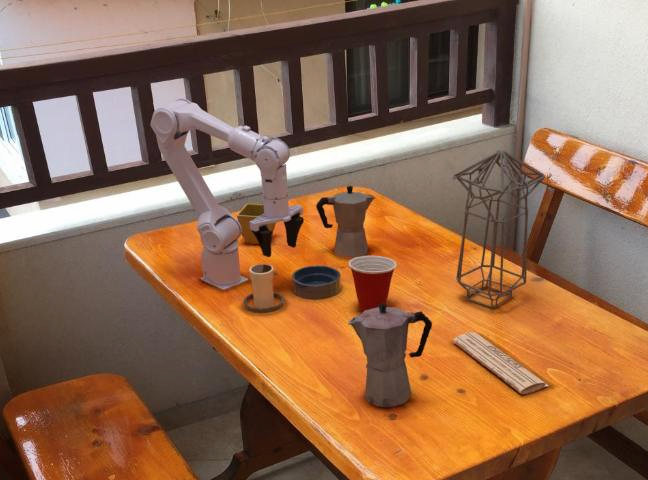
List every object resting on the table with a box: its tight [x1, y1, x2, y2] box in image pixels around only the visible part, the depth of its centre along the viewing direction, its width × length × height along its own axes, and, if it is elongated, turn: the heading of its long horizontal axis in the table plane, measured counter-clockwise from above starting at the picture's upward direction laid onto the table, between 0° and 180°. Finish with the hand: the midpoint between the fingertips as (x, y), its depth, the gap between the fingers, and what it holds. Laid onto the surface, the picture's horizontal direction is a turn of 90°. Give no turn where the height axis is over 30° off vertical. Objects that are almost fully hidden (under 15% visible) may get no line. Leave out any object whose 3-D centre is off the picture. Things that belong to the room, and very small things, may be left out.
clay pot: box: [248, 263, 275, 308], centre depth 199 cm, size 6×6×9 cm
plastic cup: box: [348, 255, 397, 313], centre depth 196 cm, size 11×11×12 cm
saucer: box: [242, 291, 285, 314], centre depth 201 cm, size 9×10×2 cm
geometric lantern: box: [452, 150, 546, 309], centre depth 193 cm, size 16×16×35 cm
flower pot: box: [236, 203, 277, 245], centre depth 232 cm, size 9×9×9 cm
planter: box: [291, 264, 342, 300], centre depth 207 cm, size 12×12×4 cm
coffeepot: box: [315, 185, 376, 259], centre depth 222 cm, size 15×9×18 cm, turn 103°
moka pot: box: [348, 303, 433, 408], centre depth 162 cm, size 10×15×20 cm, turn 95°
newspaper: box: [452, 332, 550, 395], centre depth 176 cm, size 24×7×2 cm, turn 28°
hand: (279, 251), depth 203 cm, fingers open, 7 cm apart
